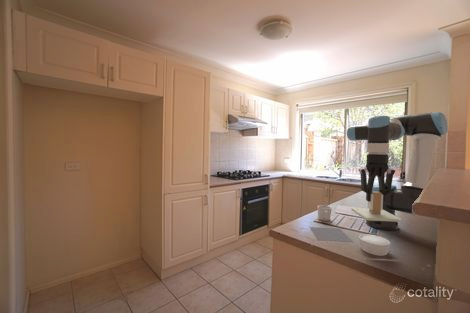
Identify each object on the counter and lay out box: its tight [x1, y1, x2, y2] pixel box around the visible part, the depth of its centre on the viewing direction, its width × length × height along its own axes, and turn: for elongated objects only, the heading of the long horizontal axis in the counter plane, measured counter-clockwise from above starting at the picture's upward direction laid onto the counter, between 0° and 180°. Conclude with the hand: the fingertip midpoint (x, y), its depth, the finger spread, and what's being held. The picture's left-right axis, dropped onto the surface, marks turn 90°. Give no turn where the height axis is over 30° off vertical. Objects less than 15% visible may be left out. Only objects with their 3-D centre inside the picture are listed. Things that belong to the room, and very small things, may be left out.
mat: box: [309, 226, 354, 243], centre depth 106 cm, size 16×16×1 cm
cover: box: [351, 191, 403, 223], centre depth 89 cm, size 13×13×10 cm
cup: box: [316, 204, 333, 222], centre depth 126 cm, size 11×8×8 cm
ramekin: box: [358, 233, 391, 257], centre depth 90 cm, size 11×11×5 cm
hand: (374, 208), depth 89 cm, fingers closed on cover, 3 cm apart
